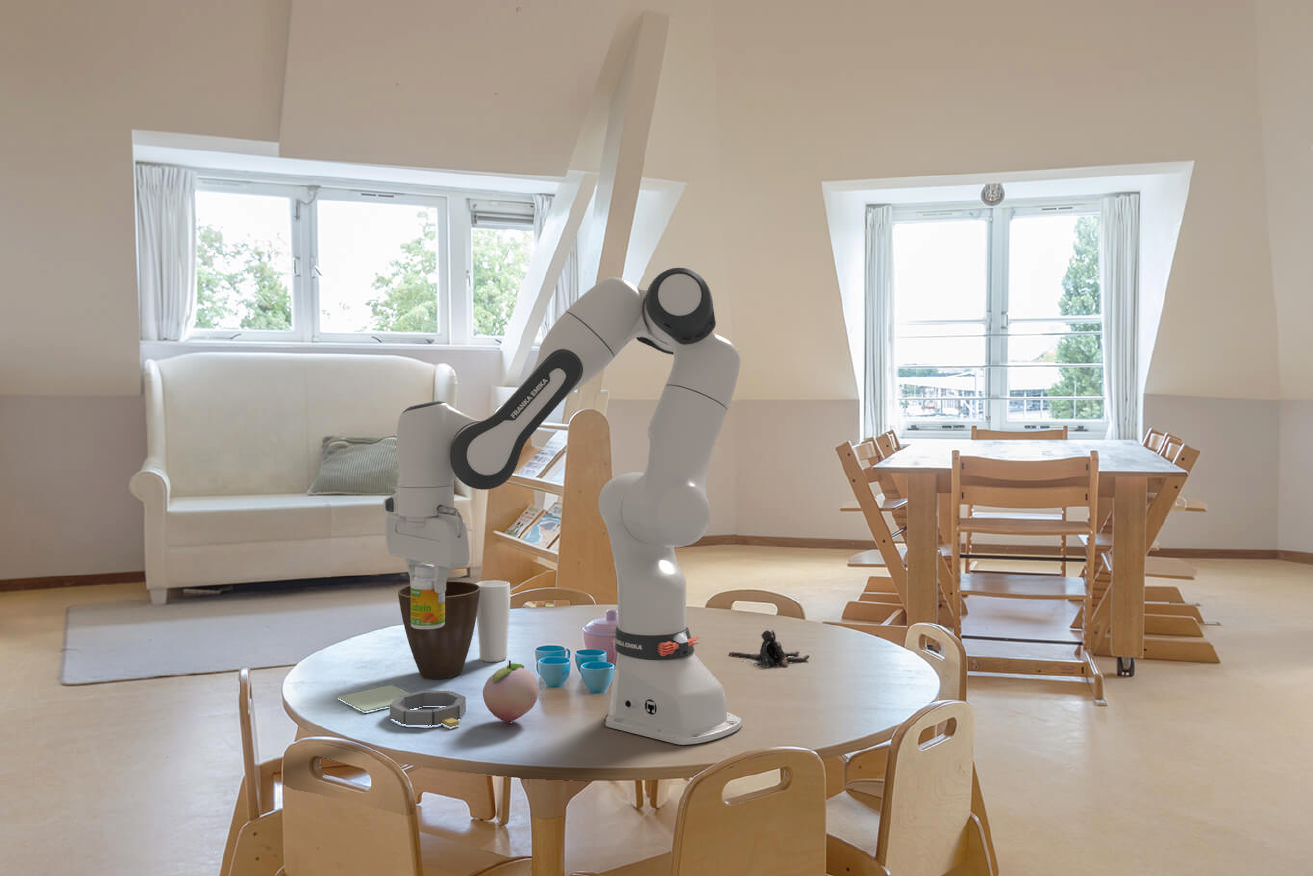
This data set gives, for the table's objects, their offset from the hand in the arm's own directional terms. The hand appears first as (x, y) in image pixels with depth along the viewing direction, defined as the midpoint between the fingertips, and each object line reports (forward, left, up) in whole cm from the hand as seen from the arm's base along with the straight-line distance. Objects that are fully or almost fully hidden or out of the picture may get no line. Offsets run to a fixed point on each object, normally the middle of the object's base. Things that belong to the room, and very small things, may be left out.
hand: (427, 589), depth 159 cm
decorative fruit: (-12, -8, -21) cm, 25 cm away
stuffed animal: (-15, -66, -21) cm, 71 cm away
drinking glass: (+22, -27, -21) cm, 41 cm away
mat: (+13, +2, -21) cm, 25 cm away
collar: (0, 0, -21) cm, 21 cm away
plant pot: (+20, -14, -21) cm, 32 cm away
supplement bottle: (0, 0, -6) cm, 6 cm away
